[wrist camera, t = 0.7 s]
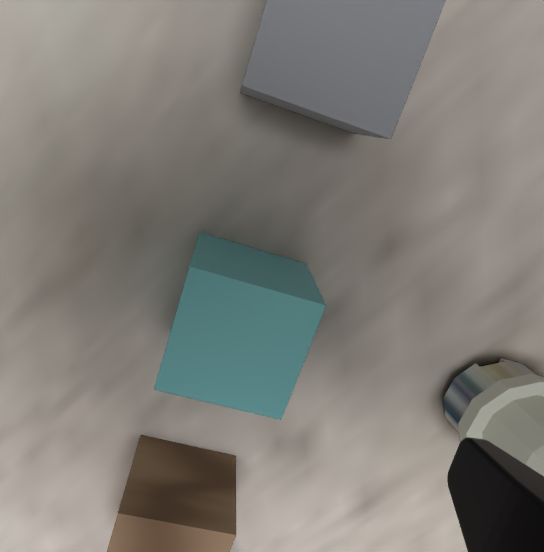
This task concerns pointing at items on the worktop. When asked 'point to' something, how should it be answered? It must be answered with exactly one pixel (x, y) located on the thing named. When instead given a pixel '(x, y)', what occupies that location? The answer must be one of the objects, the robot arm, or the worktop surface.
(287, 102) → the charcoal block
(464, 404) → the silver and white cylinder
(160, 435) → the worktop surface
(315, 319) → the teal block
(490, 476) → the robot arm
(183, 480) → the walnut block
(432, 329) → the worktop surface
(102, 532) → the worktop surface
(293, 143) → the worktop surface
